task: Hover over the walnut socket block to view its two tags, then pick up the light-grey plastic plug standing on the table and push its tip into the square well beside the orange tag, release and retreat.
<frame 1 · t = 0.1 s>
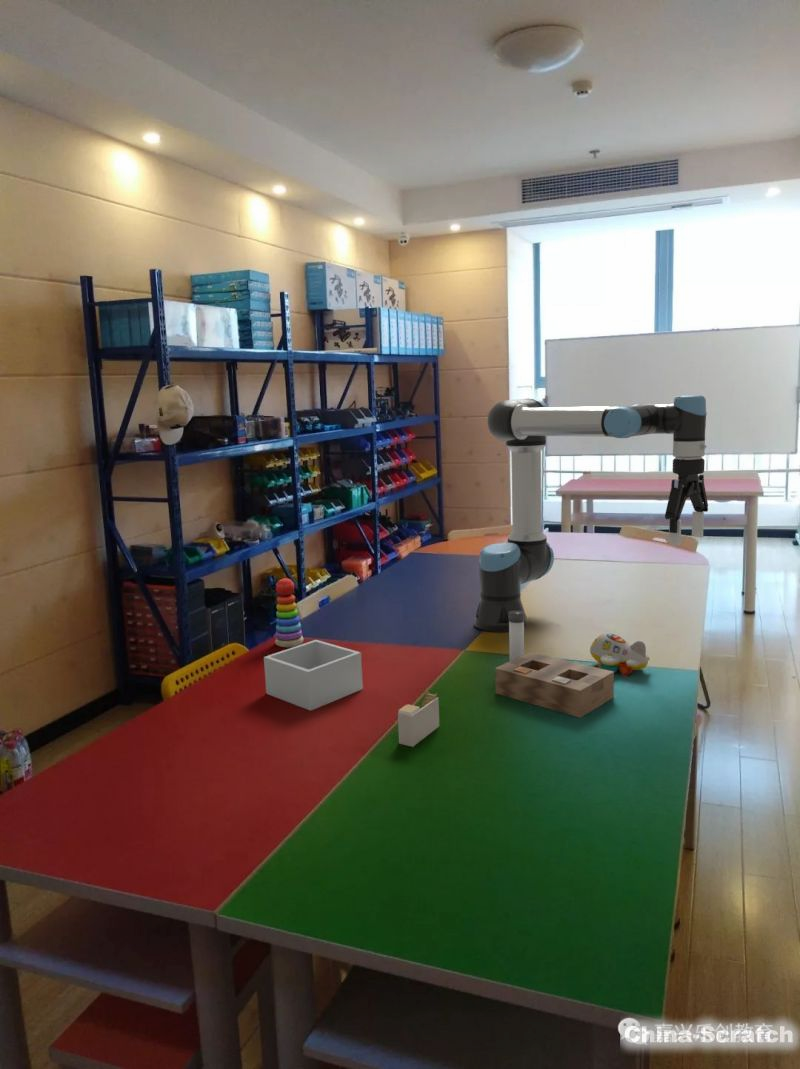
hand: (686, 540, 201), 28 cm above the table, fingers open, 13 cm apart
toy airplane: (618, 669, 192), on the table
model: (419, 737, 160), on the table
plug: (517, 666, 196), on the table
socket block: (553, 695, 177), on the table
stacking toy: (289, 644, 221), on the table
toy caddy: (314, 691, 185), on the table
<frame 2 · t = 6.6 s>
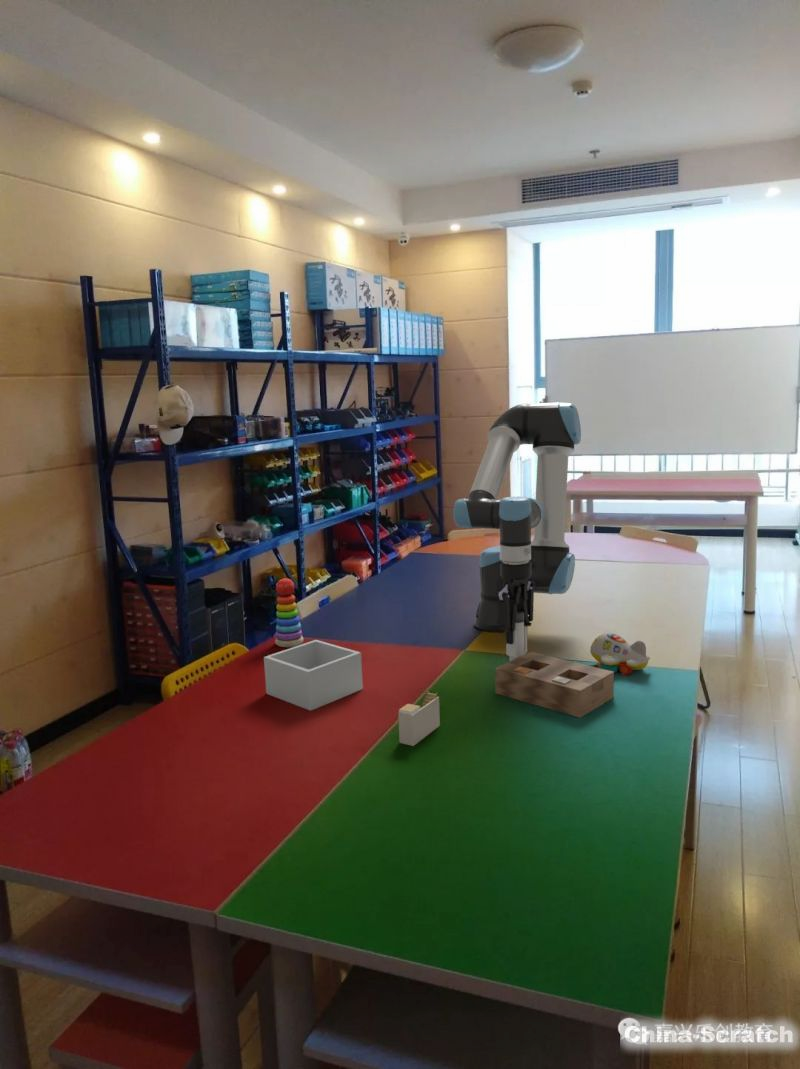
hand: (516, 653, 195), 4 cm above the table, fingers closed on plug, 3 cm apart
plug: (517, 666, 196), on the table, touching gripper
everything else where it was.
when the fingers open (8 cm above the table, at t = 10.6 s): plug drops 2 cm, resting on socket block.
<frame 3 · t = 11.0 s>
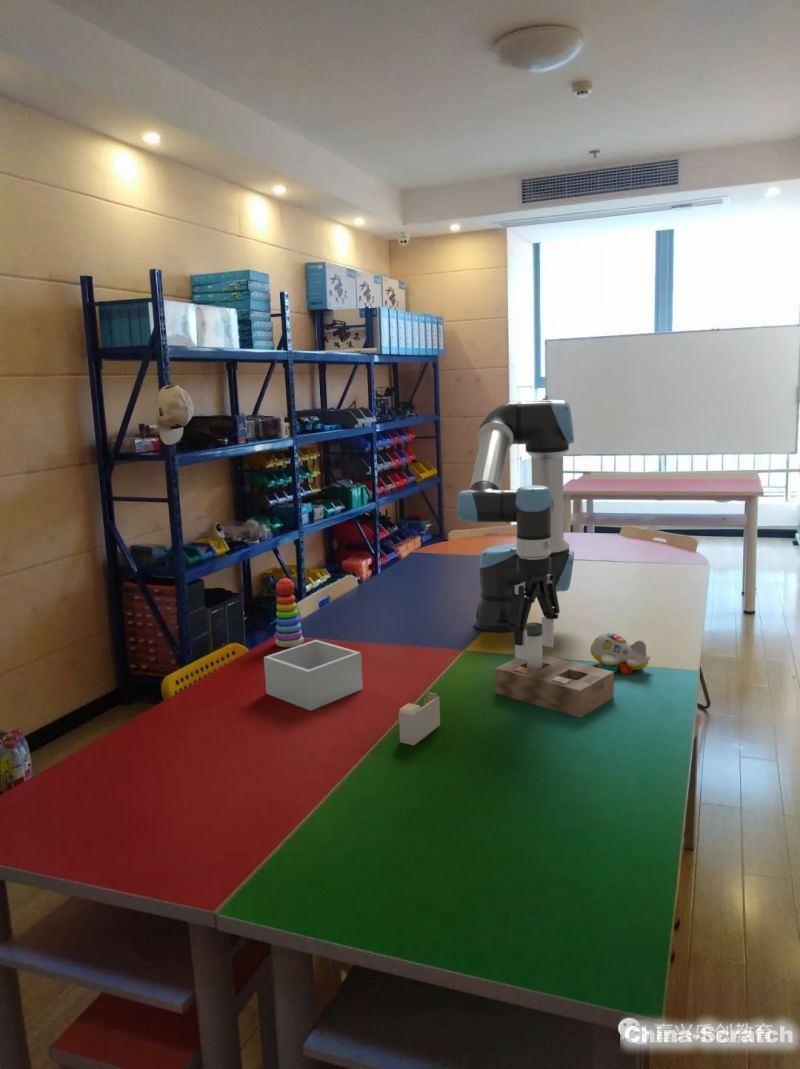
hand: (534, 651, 179), 9 cm above the table, fingers open, 10 cm apart
plug: (534, 683, 180), point 2 cm above the table, touching socket block
everything else where it was.
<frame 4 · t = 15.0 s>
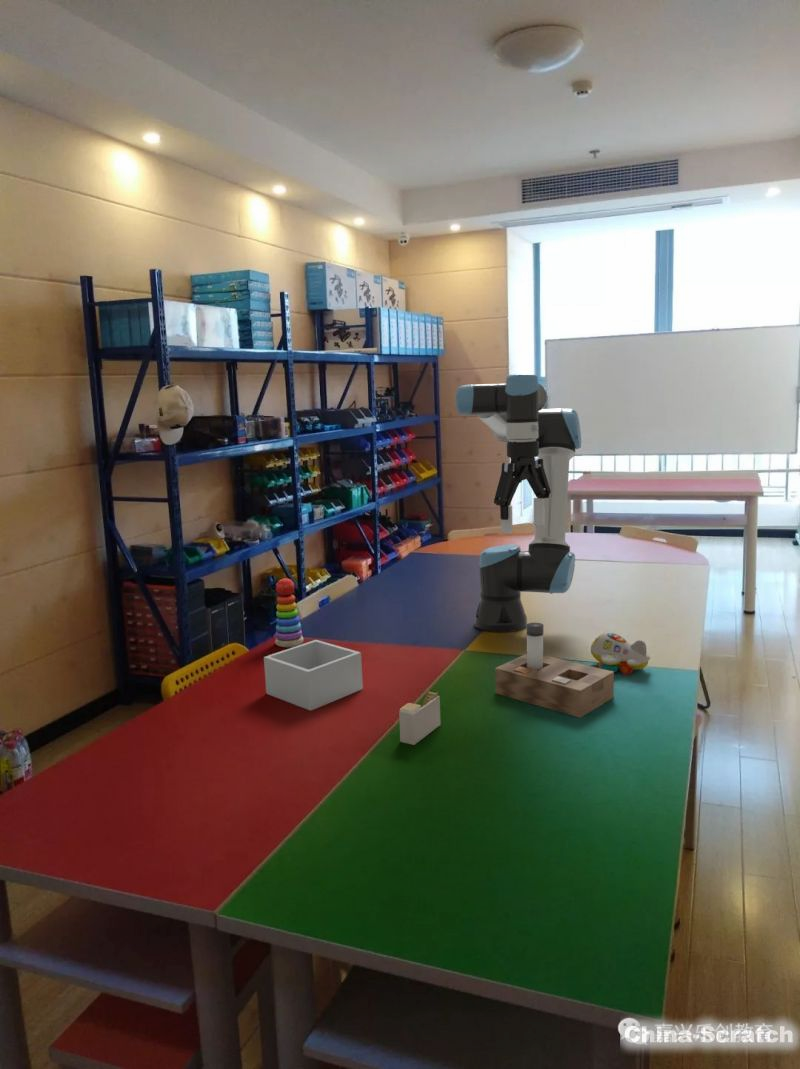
hand: (523, 528, 190), 35 cm above the table, fingers open, 13 cm apart
nothing on the table moved.
at the end: plug 0.1 cm from the target spot on the socket block, point 1.5 cm above the socket block's base; plug tilted 1°; the gripper is holding nothing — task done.
